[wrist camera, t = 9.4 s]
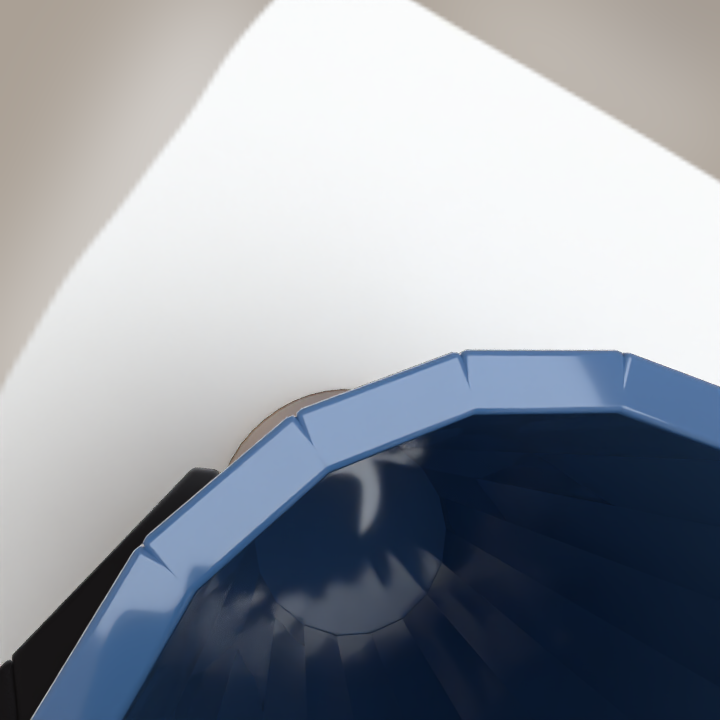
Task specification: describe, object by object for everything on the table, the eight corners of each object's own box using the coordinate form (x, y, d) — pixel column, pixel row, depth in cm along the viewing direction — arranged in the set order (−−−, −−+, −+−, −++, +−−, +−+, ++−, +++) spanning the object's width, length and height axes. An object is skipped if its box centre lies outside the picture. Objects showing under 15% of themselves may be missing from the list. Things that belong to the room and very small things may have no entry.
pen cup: (365, 686, 14) (780, 2156, 2) (197, 546, 14) (-390, 1158, 2) (489, 510, 15) (1222, 767, 3) (333, 382, 16) (471, 154, 3)
